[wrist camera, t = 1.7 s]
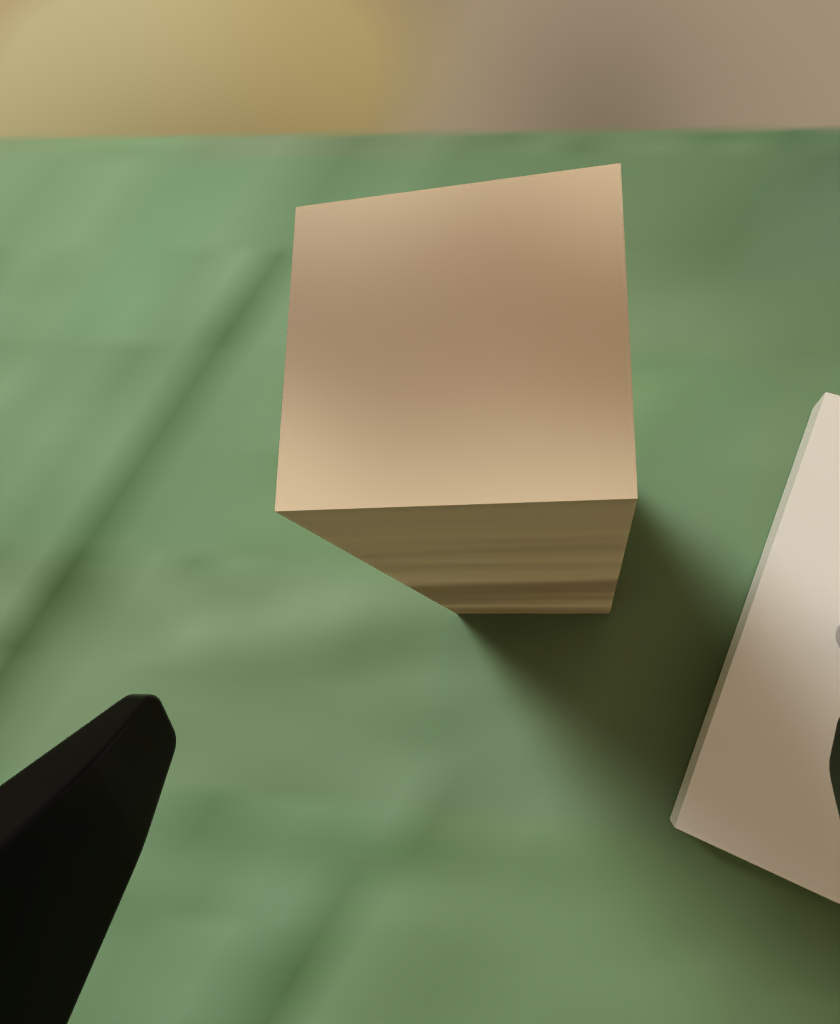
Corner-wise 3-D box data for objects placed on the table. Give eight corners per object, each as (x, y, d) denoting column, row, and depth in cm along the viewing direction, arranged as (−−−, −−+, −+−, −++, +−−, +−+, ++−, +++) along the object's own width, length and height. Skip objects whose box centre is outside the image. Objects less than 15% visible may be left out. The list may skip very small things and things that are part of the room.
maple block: (609, 613, 20) (637, 498, 8) (456, 613, 21) (275, 511, 9) (603, 464, 21) (620, 163, 9) (457, 471, 22) (296, 206, 10)
